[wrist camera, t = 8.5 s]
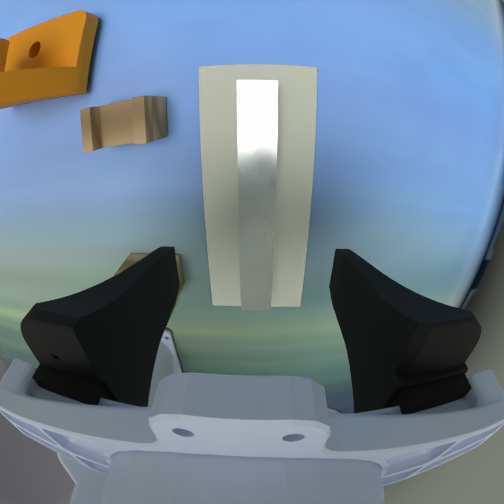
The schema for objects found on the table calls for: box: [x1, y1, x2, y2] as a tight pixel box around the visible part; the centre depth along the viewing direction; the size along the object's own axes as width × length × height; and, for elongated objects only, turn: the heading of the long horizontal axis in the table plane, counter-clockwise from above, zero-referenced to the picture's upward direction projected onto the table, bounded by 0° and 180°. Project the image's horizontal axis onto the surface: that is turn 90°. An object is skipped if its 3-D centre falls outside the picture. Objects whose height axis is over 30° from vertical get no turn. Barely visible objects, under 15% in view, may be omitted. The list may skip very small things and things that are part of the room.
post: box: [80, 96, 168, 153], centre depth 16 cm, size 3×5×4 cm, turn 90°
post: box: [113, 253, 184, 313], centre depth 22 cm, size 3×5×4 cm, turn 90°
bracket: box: [0, 10, 98, 109], centre depth 9 cm, size 11×7×12 cm, turn 81°
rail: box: [237, 80, 278, 311], centre depth 19 cm, size 17×2×2 cm, turn 0°
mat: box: [199, 64, 317, 307], centre depth 21 cm, size 20×8×1 cm, turn 0°
